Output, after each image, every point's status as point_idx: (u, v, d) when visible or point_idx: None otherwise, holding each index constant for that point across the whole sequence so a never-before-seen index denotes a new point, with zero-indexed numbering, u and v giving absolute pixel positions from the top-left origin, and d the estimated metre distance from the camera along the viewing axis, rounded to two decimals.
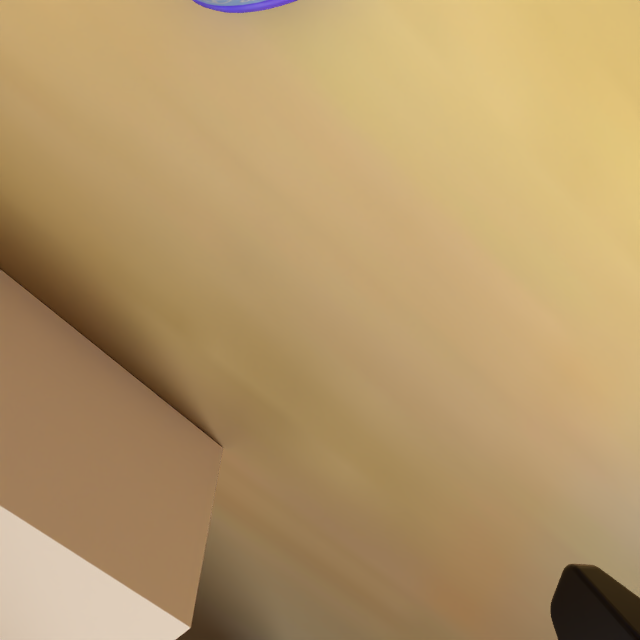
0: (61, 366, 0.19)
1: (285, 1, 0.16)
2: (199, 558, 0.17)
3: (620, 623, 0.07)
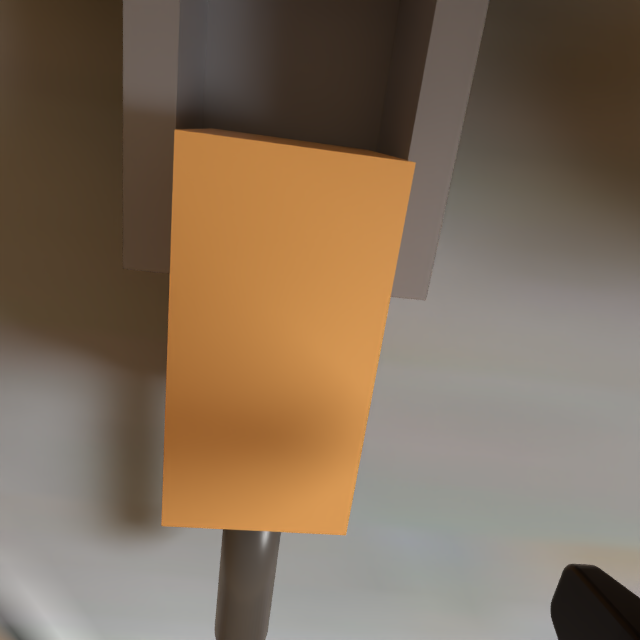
0: None
1: None
2: None
3: (620, 623, 0.07)
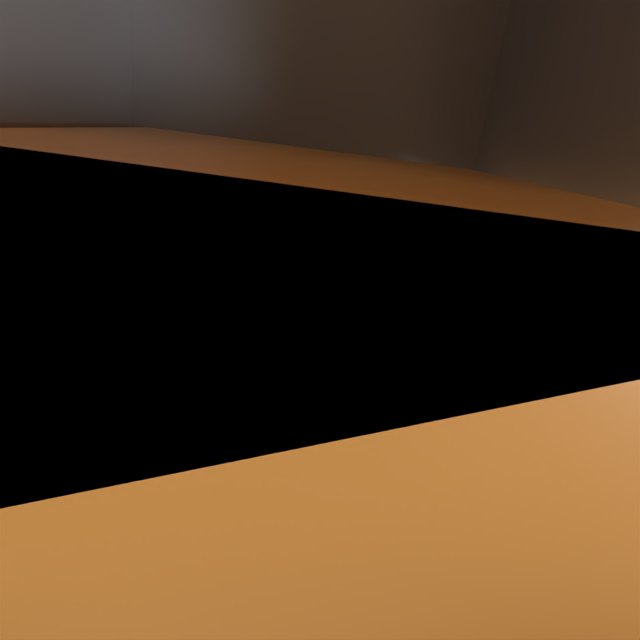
0: None
1: None
2: None
3: None
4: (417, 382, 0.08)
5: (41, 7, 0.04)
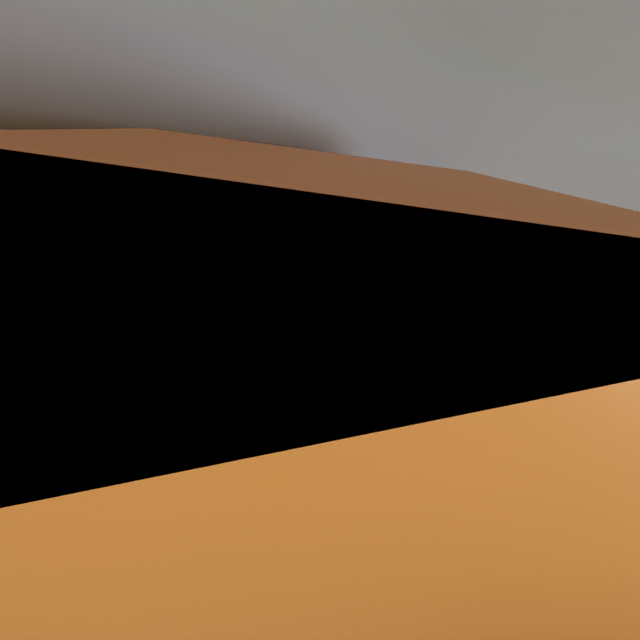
0: None
1: None
2: None
3: None
4: (417, 384, 0.08)
5: None
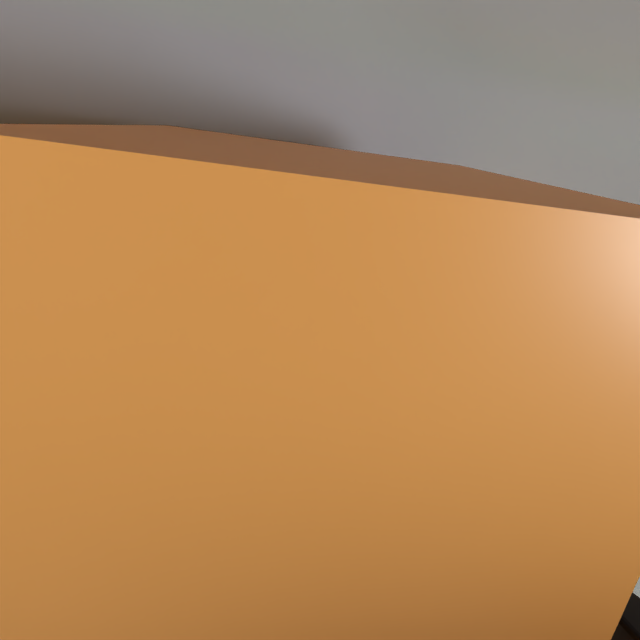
0: None
1: None
2: None
3: (620, 623, 0.07)
4: None
5: None
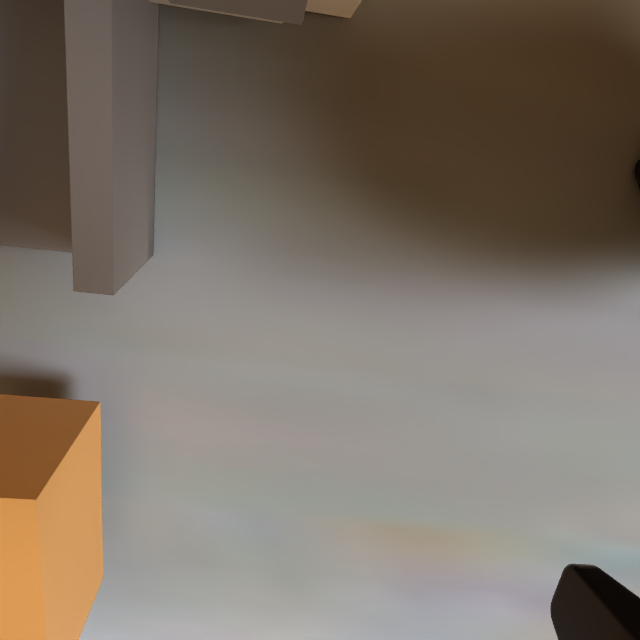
0: None
1: None
2: None
3: (620, 623, 0.07)
4: (99, 475, 0.19)
5: None
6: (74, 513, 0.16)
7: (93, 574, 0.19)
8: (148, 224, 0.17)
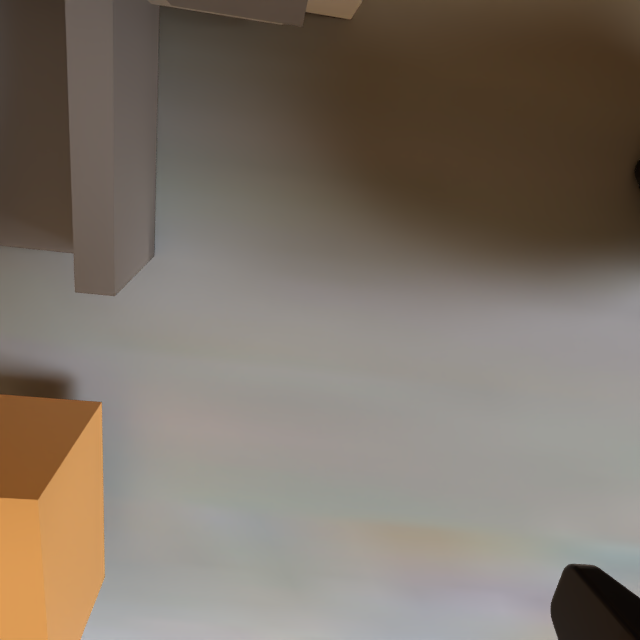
0: None
1: None
2: None
3: (620, 623, 0.07)
4: (101, 475, 0.19)
5: None
6: (75, 513, 0.16)
7: (95, 574, 0.19)
8: (149, 225, 0.17)
